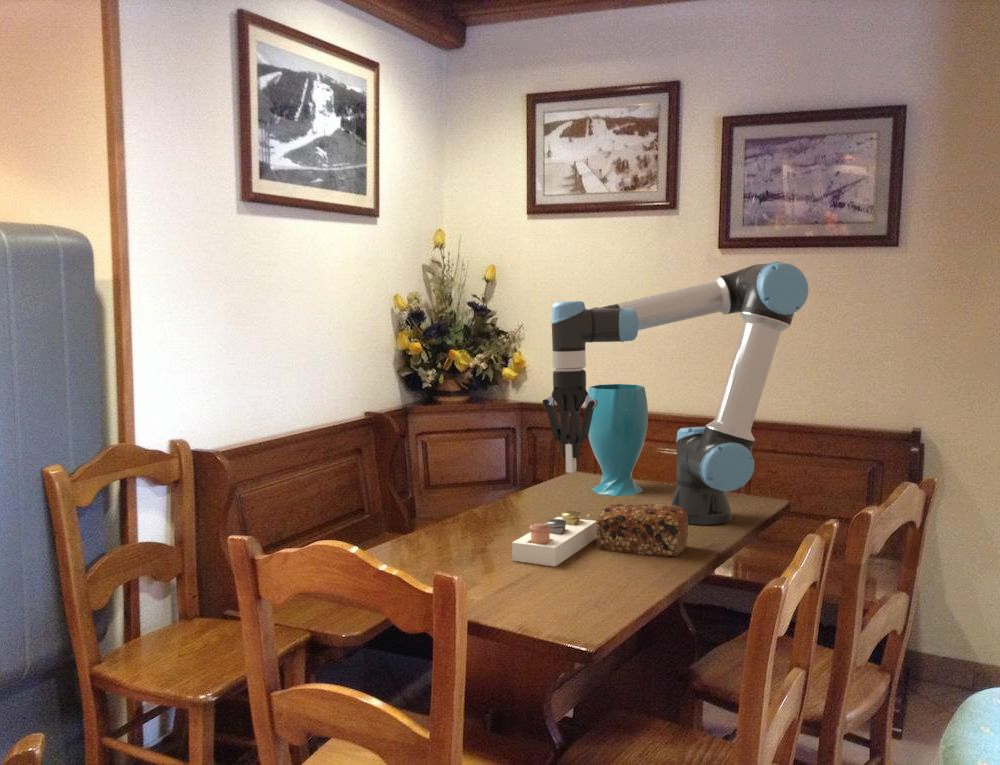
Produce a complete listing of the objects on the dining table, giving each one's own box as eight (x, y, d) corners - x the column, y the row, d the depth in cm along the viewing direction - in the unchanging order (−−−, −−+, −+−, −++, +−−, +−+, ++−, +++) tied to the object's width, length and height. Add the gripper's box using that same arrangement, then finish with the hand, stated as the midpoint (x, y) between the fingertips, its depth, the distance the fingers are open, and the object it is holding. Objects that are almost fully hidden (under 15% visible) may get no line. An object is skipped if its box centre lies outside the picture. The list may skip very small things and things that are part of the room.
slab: (597, 537, 206) (596, 520, 205) (555, 566, 184) (555, 547, 184) (557, 533, 210) (557, 516, 210) (512, 560, 189) (512, 542, 189)
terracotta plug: (554, 551, 191) (553, 524, 190) (545, 556, 187) (545, 529, 186) (535, 548, 193) (535, 522, 192) (526, 554, 189) (526, 527, 188)
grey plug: (569, 545, 198) (569, 520, 198) (561, 550, 194) (561, 524, 194) (551, 543, 200) (551, 518, 200) (543, 548, 196) (543, 522, 196)
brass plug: (583, 536, 206) (583, 511, 205) (576, 540, 202) (576, 516, 201) (566, 534, 208) (566, 509, 207) (558, 538, 204) (558, 514, 203)
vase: (632, 499, 243) (631, 391, 241) (576, 492, 253) (575, 388, 250) (657, 487, 258) (656, 385, 255) (603, 481, 267) (602, 382, 264)
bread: (689, 546, 198) (689, 502, 197) (677, 560, 188) (677, 513, 187) (609, 538, 206) (609, 496, 205) (594, 550, 196) (593, 506, 195)
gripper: (602, 368, 201) (603, 470, 204) (549, 367, 207) (552, 466, 210) (589, 371, 195) (591, 476, 197) (536, 370, 201) (538, 472, 203)
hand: (571, 471), depth 203 cm, fingers closed
